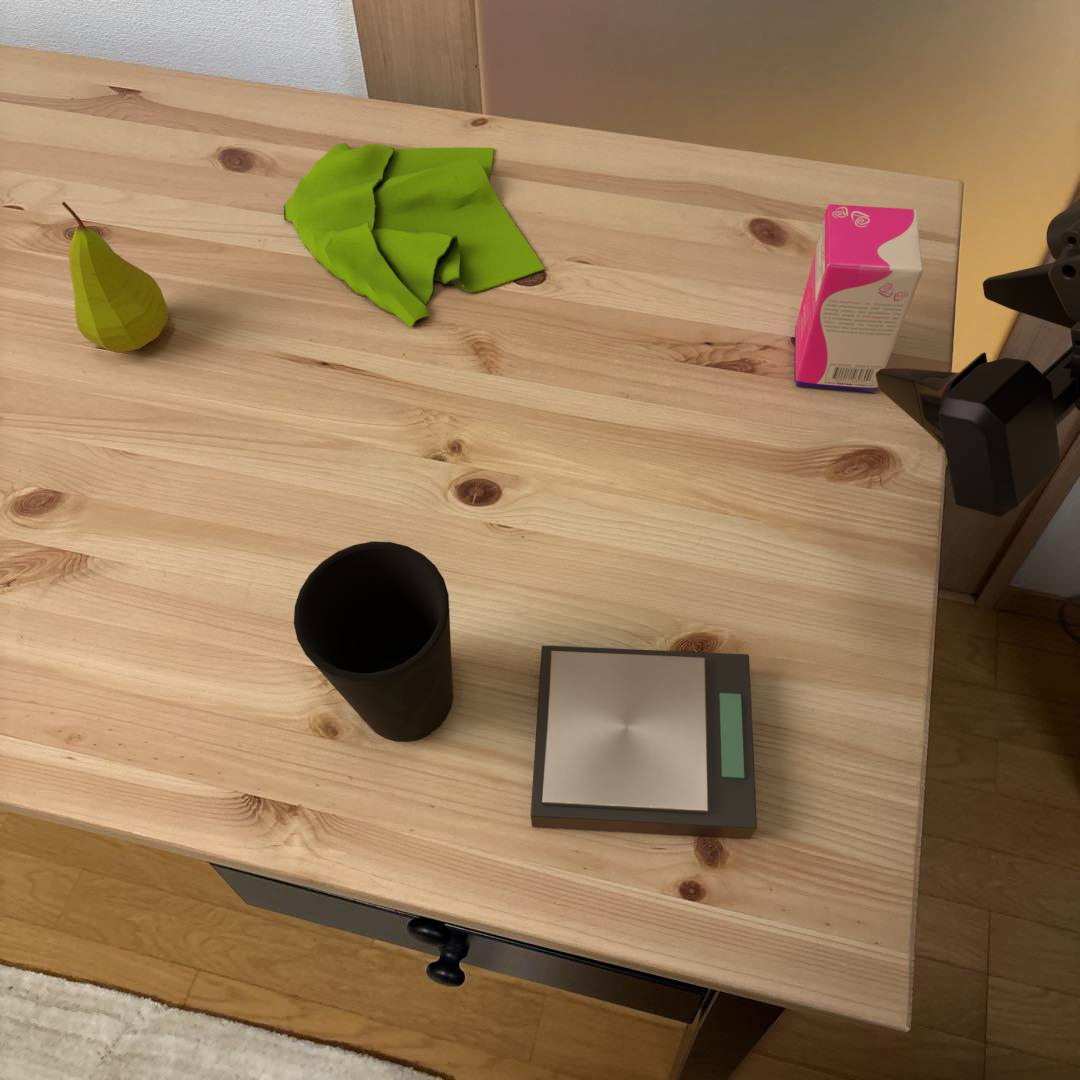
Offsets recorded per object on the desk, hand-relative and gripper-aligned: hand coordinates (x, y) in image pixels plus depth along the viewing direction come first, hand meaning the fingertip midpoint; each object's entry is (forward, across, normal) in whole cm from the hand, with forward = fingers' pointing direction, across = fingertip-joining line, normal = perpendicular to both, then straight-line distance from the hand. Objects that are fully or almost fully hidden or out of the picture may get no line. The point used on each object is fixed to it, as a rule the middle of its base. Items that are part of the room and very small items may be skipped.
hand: (933, 332), depth 53 cm
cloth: (+42, +7, -8) cm, 43 cm away
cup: (+15, +32, +8) cm, 36 cm away
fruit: (+46, +29, -11) cm, 56 cm away
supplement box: (+15, -7, +8) cm, 19 cm away
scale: (+6, +23, +14) cm, 28 cm away
